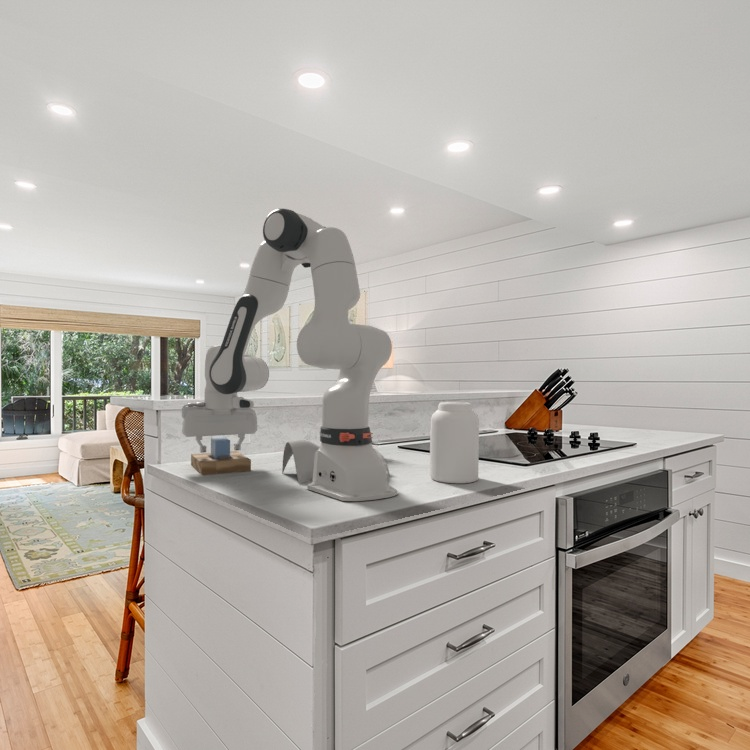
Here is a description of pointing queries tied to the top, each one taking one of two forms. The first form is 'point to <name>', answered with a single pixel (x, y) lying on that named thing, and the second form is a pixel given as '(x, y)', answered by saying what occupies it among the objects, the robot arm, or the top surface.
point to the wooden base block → (220, 463)
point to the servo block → (220, 448)
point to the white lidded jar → (454, 443)
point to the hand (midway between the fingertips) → (220, 451)
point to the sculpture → (305, 458)
